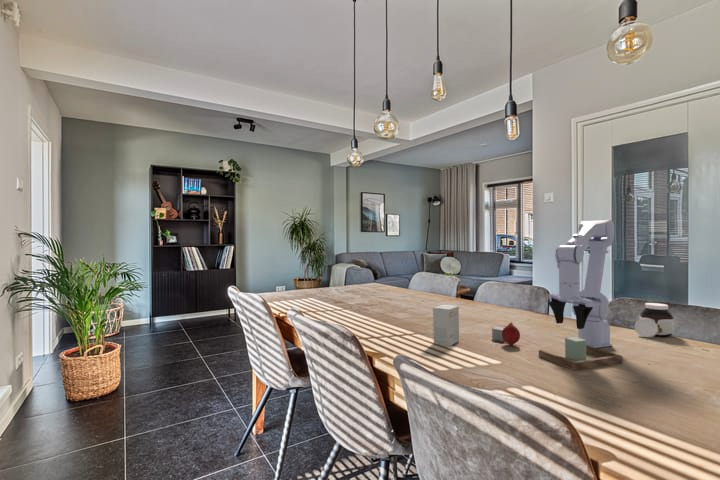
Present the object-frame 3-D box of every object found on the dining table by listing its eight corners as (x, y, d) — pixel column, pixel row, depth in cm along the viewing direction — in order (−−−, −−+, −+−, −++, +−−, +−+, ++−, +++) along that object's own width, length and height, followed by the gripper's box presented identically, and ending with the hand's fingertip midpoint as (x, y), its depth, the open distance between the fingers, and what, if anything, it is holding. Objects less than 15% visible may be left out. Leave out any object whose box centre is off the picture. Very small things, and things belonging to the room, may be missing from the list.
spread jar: (672, 334, 138) (671, 303, 138) (678, 341, 129) (677, 309, 129) (632, 330, 145) (632, 301, 145) (635, 337, 135) (635, 305, 135)
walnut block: (582, 349, 121) (582, 343, 121) (622, 362, 108) (622, 355, 108) (538, 356, 115) (538, 349, 115) (575, 370, 103) (575, 363, 103)
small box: (443, 338, 136) (443, 303, 136) (459, 341, 132) (459, 305, 132) (432, 343, 130) (432, 307, 130) (449, 346, 126) (448, 309, 126)
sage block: (575, 355, 115) (574, 336, 115) (586, 359, 111) (586, 340, 111) (565, 357, 114) (565, 338, 114) (576, 361, 110) (576, 341, 110)
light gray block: (498, 337, 138) (498, 326, 138) (508, 339, 135) (507, 328, 135) (492, 339, 136) (492, 328, 136) (502, 341, 132) (502, 330, 132)
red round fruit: (521, 348, 124) (521, 324, 124) (503, 347, 125) (503, 324, 125) (518, 343, 129) (517, 320, 129) (500, 342, 130) (500, 320, 130)
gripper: (541, 281, 121) (541, 322, 121) (580, 286, 108) (581, 332, 108) (557, 280, 124) (557, 320, 124) (597, 285, 110) (598, 330, 110)
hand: (569, 325), depth 116 cm, fingers open, 7 cm apart
